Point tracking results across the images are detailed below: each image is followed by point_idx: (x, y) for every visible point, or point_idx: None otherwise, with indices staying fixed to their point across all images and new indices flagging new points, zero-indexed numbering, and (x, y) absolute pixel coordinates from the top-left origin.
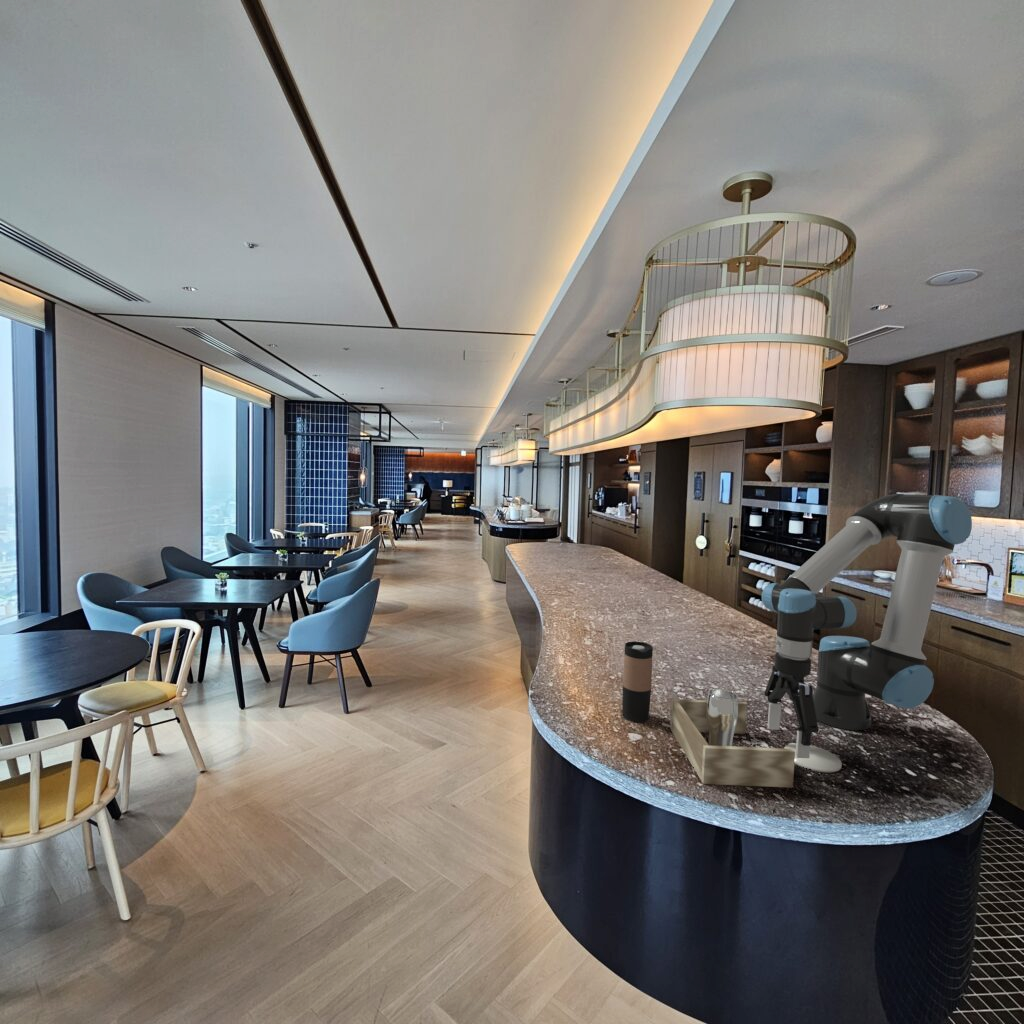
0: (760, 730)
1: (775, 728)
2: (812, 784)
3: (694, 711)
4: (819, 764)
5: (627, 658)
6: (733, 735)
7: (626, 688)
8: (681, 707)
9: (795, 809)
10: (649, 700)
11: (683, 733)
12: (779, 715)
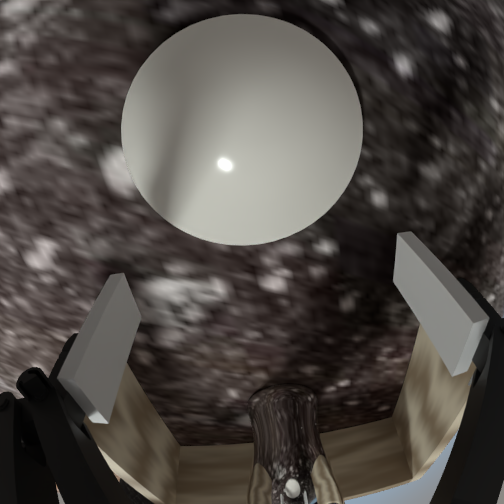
0: (54, 270)
1: (129, 293)
2: (433, 213)
3: (159, 473)
4: (320, 130)
5: None
6: (310, 444)
7: None
8: None
9: (501, 293)
10: (148, 501)
11: None
12: (100, 327)
